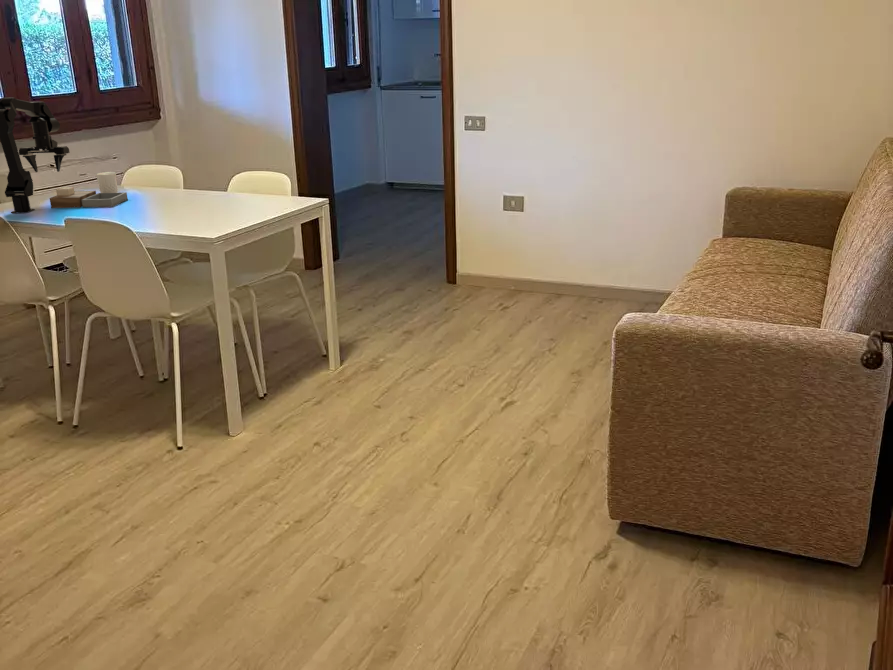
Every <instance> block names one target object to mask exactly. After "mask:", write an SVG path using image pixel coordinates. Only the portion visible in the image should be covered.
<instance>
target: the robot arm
mask: <svg viewBox="0 0 893 670" xmlns="http://www.w3.org/2000/svg"><path fill="white" fill-rule="evenodd" d="M17 111H20V112H23V113H25V115H27V116H29V117H30V119H29V120H28V123H31V126H32V132H33V133H32V135H33V136H32V139H33V140H34V144H35V146H27V147H20V148H18V146H17V143H16V139H15V135H14V133H13V131H14V128H15V124H16V123H15V118H16V117H17V115H18V113H17ZM60 129H61V123H60V122H59V120H58V119H57V118H55V116H54V114H52V112H51V110H50V108H49V106H48V105H47V104H46V102H44V101H27V100H23V99H18V98H15V97H3V98H1V99H0V144H1V147H2V151H3V153H4V157H5V161H6V164H7V167H8V174H7V177H6V181H7V185H6V188H5V190H4V194H5V197H6V198H11V200H12V205H13V209H14V210H12V211H10V213H11V214H26V213H29V212H33V211H35V208H31V202H30V199H29V197H31V196H33V195H34V182H33V178H32V174H31V172H30V171H29V170H26V169H25V168H24V167H23V163H22V159H21V156H22V158H25V159H26V161H27V162H28V163H29V164H30V166H31V168H32V169H33V170H34V172H35V173H38V170H39V169H38V164H37V161H36V160H37V158H36V157H37V154H53V159H54V164H55V169H56V171H57V172H60V170H61V167H62V166H61V165H62V161H63V158H65V156H67V154H70V149H69V147H68V146H65V145H64V146H60V145H59V146H58V141H56V140H54V139H52V136H51V134H50V133H54V132H58V131H59V130H60Z"/></svg>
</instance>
